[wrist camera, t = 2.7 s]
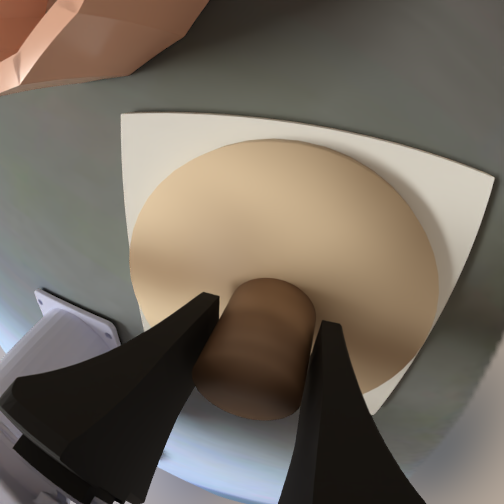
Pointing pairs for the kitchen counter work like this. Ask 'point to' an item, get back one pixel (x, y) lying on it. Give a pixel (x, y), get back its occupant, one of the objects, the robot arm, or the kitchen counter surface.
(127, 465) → the robot arm
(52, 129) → the kitchen counter surface
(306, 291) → the lid
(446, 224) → the mat
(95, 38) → the bowl
